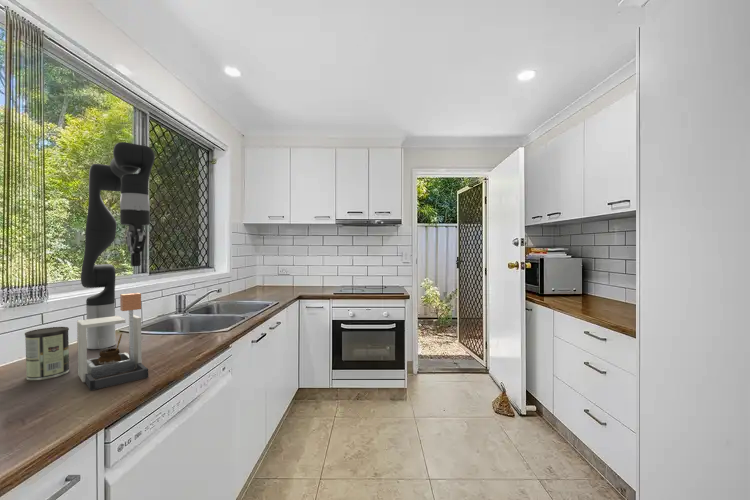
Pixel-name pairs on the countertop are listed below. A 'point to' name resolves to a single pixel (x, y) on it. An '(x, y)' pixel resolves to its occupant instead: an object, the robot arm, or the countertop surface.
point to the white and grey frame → (96, 322)
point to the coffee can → (47, 353)
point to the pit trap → (116, 378)
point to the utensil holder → (109, 355)
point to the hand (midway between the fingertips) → (135, 266)
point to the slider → (127, 360)
